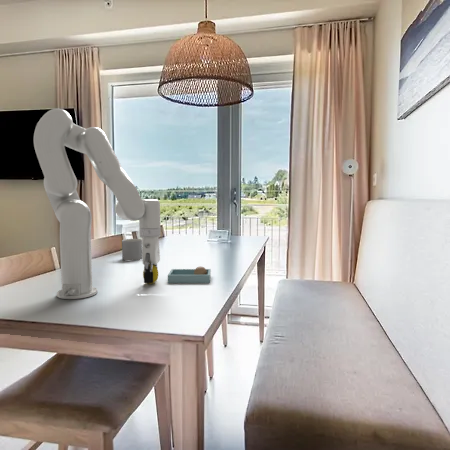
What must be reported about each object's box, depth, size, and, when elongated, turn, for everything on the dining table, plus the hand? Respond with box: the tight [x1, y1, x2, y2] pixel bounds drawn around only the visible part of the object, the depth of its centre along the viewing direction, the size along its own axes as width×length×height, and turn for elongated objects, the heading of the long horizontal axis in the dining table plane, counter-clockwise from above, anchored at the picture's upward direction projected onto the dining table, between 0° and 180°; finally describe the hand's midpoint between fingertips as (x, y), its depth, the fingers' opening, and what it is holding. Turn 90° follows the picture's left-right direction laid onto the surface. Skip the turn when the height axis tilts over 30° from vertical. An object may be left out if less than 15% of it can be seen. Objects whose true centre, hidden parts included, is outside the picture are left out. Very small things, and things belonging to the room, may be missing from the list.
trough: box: [167, 268, 212, 284], centre depth 142 cm, size 11×16×4 cm
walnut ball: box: [194, 266, 207, 275], centre depth 142 cm, size 5×5×5 cm
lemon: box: [142, 265, 159, 285], centre depth 136 cm, size 6×6×8 cm
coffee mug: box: [121, 238, 142, 261], centre depth 191 cm, size 13×10×10 cm
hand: (151, 279), depth 136 cm, fingers open, 8 cm apart
